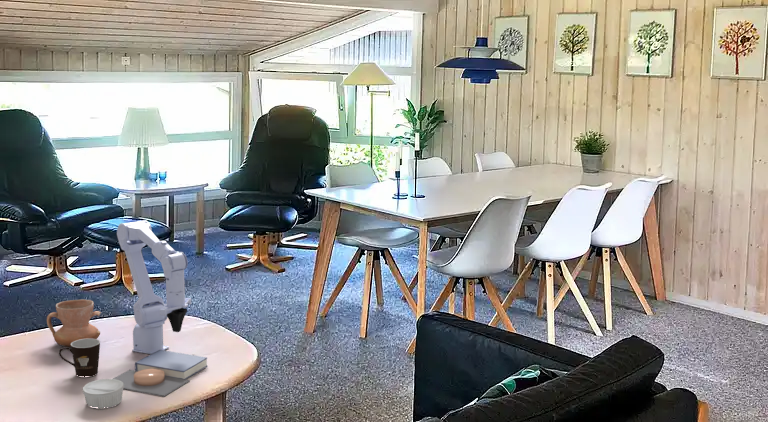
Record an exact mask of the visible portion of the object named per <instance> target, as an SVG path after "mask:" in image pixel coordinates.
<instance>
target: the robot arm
mask: <svg viewBox="0 0 768 422" xmlns="http://www.w3.org/2000/svg"><path fill="white" fill-rule="evenodd" d="M152 230H153V229H152V224H151V223H150V222H149V221H148V220H146V219H143V220H138V221H132V222H125V223H123V222H121V223H119V224H118V226H117V230H116V237H117V240H118V243H119V244H118V245H119V246H120V249H121V250H122V251H124V254H125V257H126V260H127V263H128V267H129V270H130V274H131V277H132V280H133V284H134V286H135V290H136V293H137V296H138V297H137V298H138V299H137V301H136V302H135V303H134V304H133V306H132V308H133V313H134V315H133V317H134V321H135V323H136V325H134V327H133V330H132V340H133V341H132V345H133V348H132V350H131V351H132V352H135V353H142V354H147V355H151V354H152V353H154V352H156V351H158V350H165V351H167V349H169V348H170V346H168V345H164V326H163V325H165V323H166V321H167V320H169V323H170V326H171V329H172V333H179V332H181V330H182V327H183V326H182V325H183V322H184V319H185V316H186V314H187V312H188V309H187V307H189V305H192V298H190V297H186V291H185V290H186V289H185V270H186V269H187V268H188V264H189V262H188V257H187V255H186V254H185V253H184V252H183V251H176V250H175V249H174V248H173V247H172V246H170V244H169V243H168V242H167V241H166V240H160V239H159V238H158V237H157V236H156V235H155V233H154V232H153V231H152ZM145 246H148V247H149V248H150V249H151V254H152V256H154V257H155V258H156V260H158V261H159V262H160V264H161V267H162V270H163V277H164V278H165V290H166V291H165V294H166V304H165V303H164V302H165V301H164V299H163V297H161V296H159V295H156V294H155V293H154V288H153V286H152V283H151V280H150V276H149V272H148V269H147V266H146V263H145V259H144V257H143V253H142V249H143V248H144V247H145Z"/></svg>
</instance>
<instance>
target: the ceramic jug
mask: <svg viewBox="0 0 768 422" xmlns="http://www.w3.org/2000/svg"><path fill="white" fill-rule="evenodd" d="M94 304H95V303H94V301H93V300H91V299H72V300H63V301H60V302H58V303H56V304H55V309H56V310H55V311H56V312H55V311H53V312H50V313H49V314H48V315H47V316H46V324H47V327H48V329H49V330H50V332H51V334H52V336H53V339H54V342H56V344H58V345H59V346H61V347H68V348H71V343H72V342H74V341H76V340H80V339H97V340H98V338H99V337H100V335H101V331H100V330H99V329H98V328H97V327H96V326H95V325H92V324H91V323H89V322H90V320H91V319H92V317H94V316H98V317H100V315H101V313H102V312H101V311H99V310H95V311H94V308H95V307H94ZM52 318H56V319H58V320H60V322H61V324H62V326H61V327H60V328H59V329H58V330H56V329H54V326H53V324H52Z"/></svg>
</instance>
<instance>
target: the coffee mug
mask: <svg viewBox="0 0 768 422" xmlns="http://www.w3.org/2000/svg"><path fill="white" fill-rule="evenodd" d="M100 345H101V341H100V339H98V338H97V339H80V340H76V341H74V342H72V343H71V347H66V346H62V348H61V349H59V351H58V355H59V357H60V358H61V359H62V360H63V361H65V362H66V363H67V364H70V365H71V366H73V367H74V370H75V371H74V372H75V376H76V375H78V376H84V377H85V376H92V377H94V376H93V375H95V374H97V373H99V364H100V363H99V361H100V360H99V359H100V351H101V350H100V348H101V347H100ZM63 350H68V351H69V352H70V353H71V355H72V359H73V362H71V361H69V360H68V359H66V358H65V357H64V356H63V355H62V354H61V353H62V351H63ZM97 375H98V374H97ZM95 376H96V375H95Z"/></svg>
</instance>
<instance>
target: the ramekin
mask: <svg viewBox="0 0 768 422" xmlns="http://www.w3.org/2000/svg"><path fill="white" fill-rule="evenodd" d="M123 388H124V384H123V382H122V381H120V380H116V379H113V378H101V379H97V380H92V381H90V382H87V383H86V384H85V385H83V387H82V393H83V396H84V400H85V403H87V404H88V405H89V406H92V407H98V408H104V407H105V408H107V407H112V406H115V405H117V404H118V405H119V404H121V402H122V400H123V393H124V389H123ZM87 404H86V405H87ZM88 405H87V406H88ZM118 405H117V406H118ZM89 406H88V407H89ZM115 407H116V406H115ZM112 408H113V407H112Z"/></svg>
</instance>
